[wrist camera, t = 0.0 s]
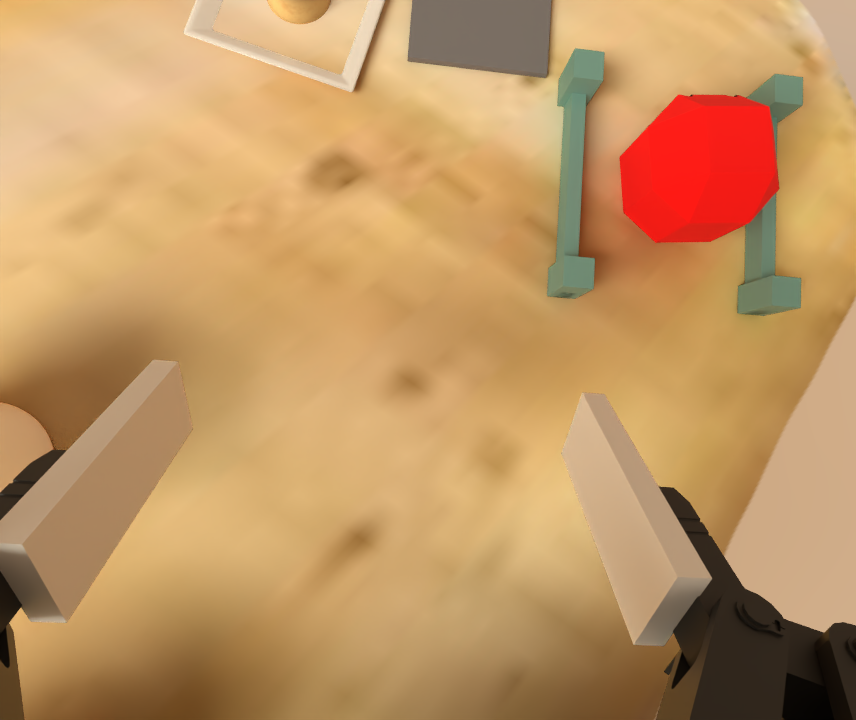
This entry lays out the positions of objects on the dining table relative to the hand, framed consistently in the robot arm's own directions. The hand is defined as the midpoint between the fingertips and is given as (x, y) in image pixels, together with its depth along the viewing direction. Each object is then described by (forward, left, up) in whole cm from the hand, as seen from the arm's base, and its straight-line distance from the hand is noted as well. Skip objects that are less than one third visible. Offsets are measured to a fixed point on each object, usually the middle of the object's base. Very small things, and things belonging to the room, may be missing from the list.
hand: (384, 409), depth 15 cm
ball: (+16, -18, -16) cm, 29 cm away
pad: (+29, -4, -15) cm, 33 cm away
